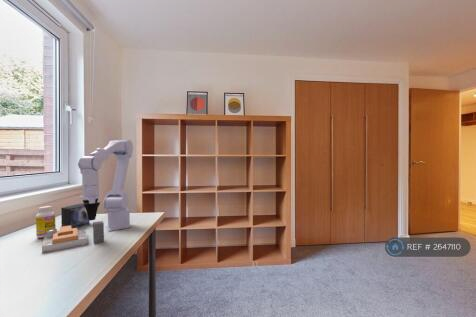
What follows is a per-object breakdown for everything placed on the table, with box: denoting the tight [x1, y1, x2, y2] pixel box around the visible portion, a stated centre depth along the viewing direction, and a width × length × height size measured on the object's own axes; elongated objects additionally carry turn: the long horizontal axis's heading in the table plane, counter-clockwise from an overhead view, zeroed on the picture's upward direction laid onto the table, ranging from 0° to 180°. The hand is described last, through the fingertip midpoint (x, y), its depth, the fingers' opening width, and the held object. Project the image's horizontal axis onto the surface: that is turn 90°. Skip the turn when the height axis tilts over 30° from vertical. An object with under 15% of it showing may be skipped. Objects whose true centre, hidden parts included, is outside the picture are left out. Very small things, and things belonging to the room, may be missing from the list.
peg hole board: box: [41, 228, 88, 254], centre depth 96 cm, size 14×14×5 cm
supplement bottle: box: [35, 205, 57, 239], centre depth 104 cm, size 7×7×13 cm
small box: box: [60, 203, 90, 229], centre depth 119 cm, size 11×6×10 cm, turn 161°
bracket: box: [52, 225, 78, 244], centre depth 99 cm, size 8×18×2 cm, turn 36°
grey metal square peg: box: [92, 220, 105, 245], centre depth 97 cm, size 4×4×8 cm
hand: (91, 217), depth 97 cm, fingers open, 7 cm apart
